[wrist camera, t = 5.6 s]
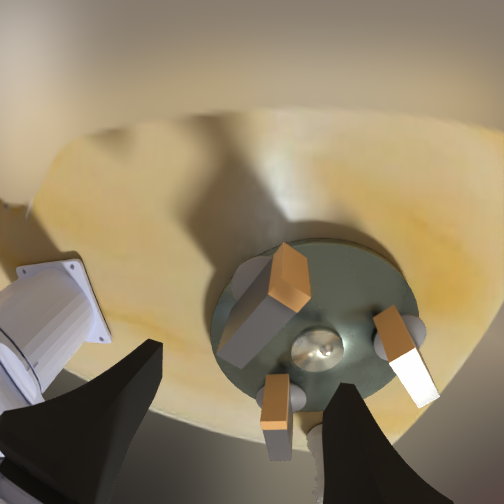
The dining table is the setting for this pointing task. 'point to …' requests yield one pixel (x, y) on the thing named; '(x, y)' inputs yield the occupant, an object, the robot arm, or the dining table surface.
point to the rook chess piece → (317, 460)
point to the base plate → (326, 324)
